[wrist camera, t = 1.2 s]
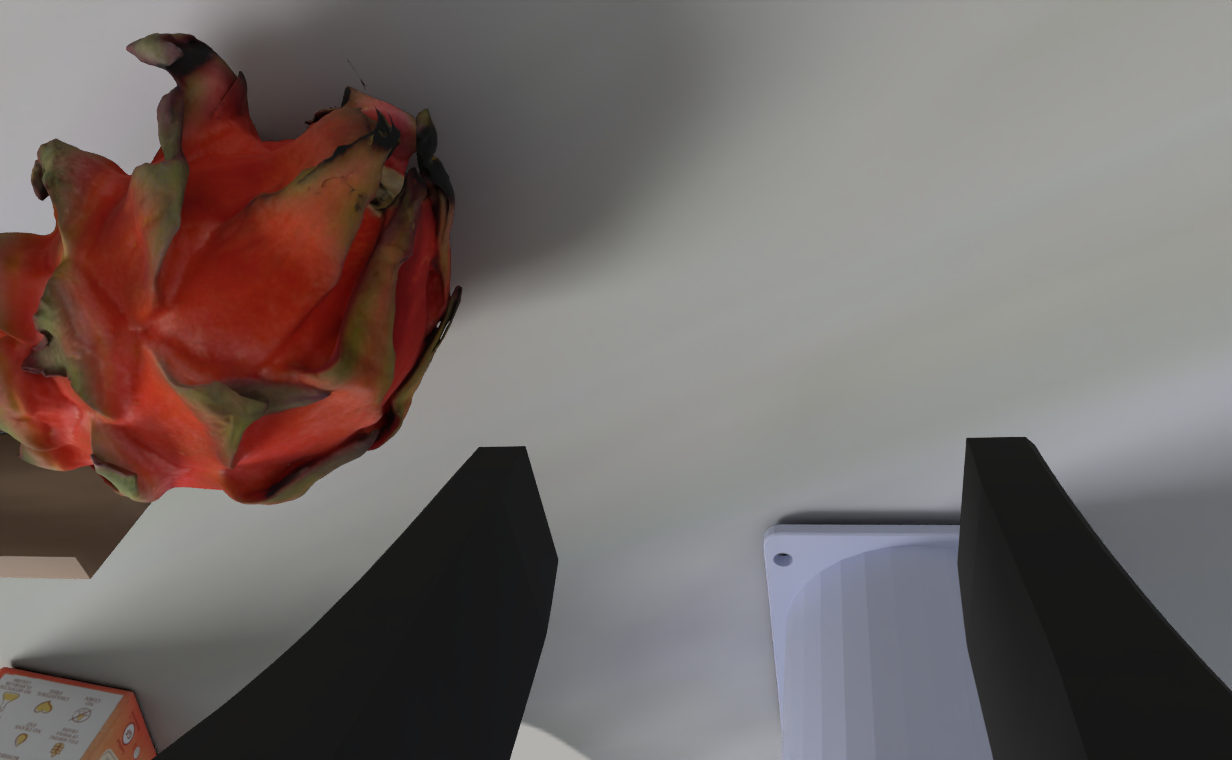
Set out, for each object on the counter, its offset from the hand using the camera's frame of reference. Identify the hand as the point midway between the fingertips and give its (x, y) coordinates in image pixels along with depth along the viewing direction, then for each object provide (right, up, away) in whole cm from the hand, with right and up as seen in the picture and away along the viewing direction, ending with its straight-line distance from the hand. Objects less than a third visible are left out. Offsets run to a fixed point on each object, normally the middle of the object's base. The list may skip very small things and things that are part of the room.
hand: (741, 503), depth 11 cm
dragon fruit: (-9, +6, +11) cm, 15 cm away
